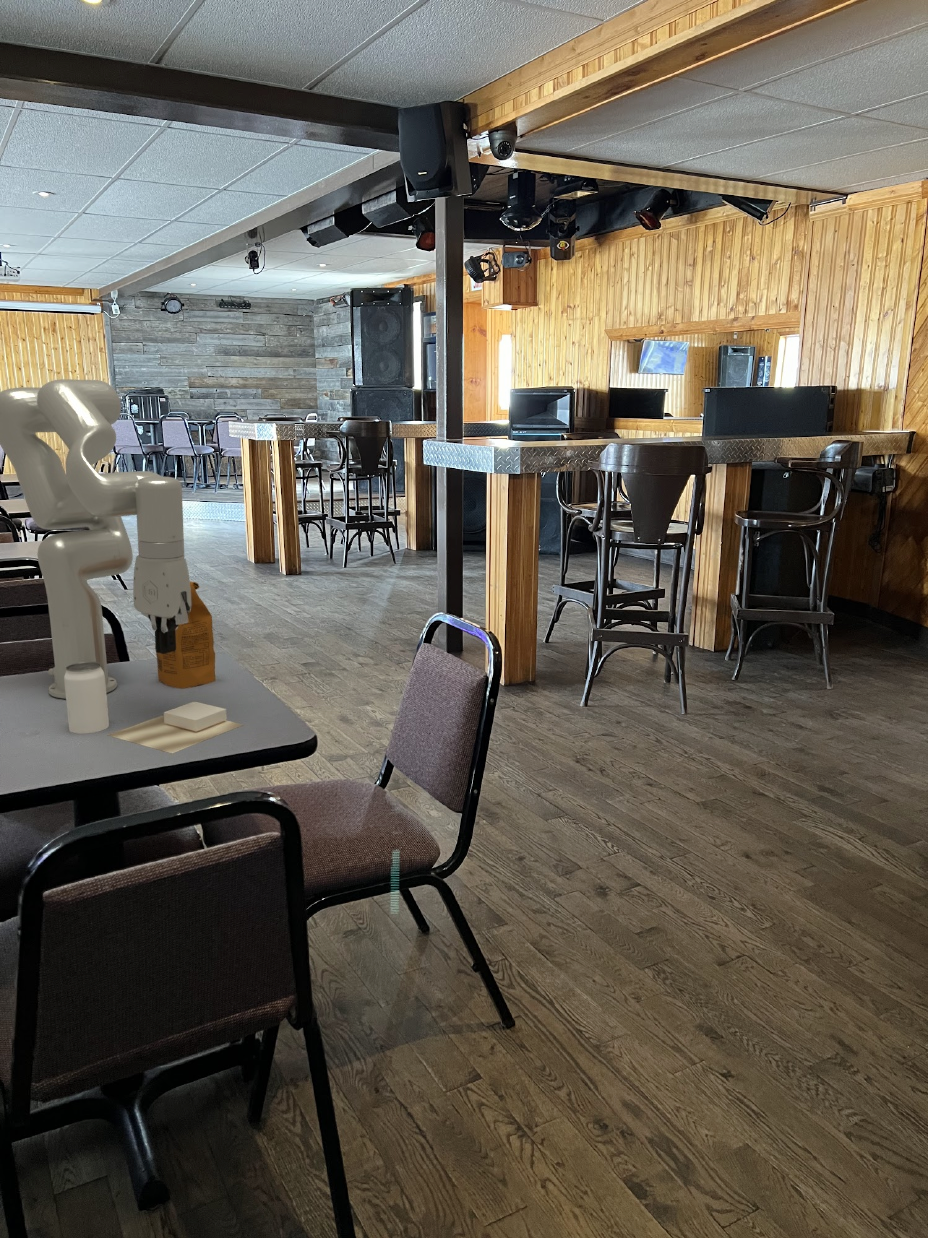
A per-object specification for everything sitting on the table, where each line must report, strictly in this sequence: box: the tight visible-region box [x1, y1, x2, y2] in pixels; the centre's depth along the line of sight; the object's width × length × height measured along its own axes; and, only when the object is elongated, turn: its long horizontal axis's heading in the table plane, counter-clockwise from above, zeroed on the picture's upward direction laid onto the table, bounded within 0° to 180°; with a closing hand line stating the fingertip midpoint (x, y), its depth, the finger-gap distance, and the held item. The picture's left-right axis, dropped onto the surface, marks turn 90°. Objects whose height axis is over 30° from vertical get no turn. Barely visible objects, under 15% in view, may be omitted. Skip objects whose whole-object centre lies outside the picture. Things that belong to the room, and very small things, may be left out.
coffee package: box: [154, 581, 216, 689], centre depth 186 cm, size 10×12×22 cm
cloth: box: [107, 714, 244, 755], centre depth 159 cm, size 16×16×1 cm
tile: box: [163, 701, 228, 732], centre depth 162 cm, size 2×7×8 cm
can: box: [64, 662, 110, 735], centre depth 159 cm, size 6×6×12 cm
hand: (166, 651), depth 163 cm, fingers closed
